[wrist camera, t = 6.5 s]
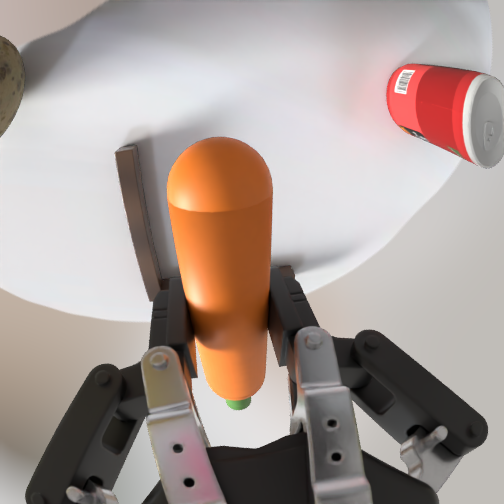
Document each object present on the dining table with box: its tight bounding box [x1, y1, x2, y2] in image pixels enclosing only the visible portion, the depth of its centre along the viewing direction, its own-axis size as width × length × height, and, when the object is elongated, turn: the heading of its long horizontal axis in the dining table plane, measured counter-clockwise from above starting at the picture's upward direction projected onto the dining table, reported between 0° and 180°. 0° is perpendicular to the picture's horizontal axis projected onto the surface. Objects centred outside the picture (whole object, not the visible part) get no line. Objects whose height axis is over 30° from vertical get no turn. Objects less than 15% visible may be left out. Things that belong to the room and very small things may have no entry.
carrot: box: [167, 137, 273, 410], centre depth 12 cm, size 15×3×3 cm, turn 0°
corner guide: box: [114, 145, 295, 302], centre depth 26 cm, size 16×16×2 cm
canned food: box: [386, 64, 504, 169], centre depth 18 cm, size 8×8×11 cm
